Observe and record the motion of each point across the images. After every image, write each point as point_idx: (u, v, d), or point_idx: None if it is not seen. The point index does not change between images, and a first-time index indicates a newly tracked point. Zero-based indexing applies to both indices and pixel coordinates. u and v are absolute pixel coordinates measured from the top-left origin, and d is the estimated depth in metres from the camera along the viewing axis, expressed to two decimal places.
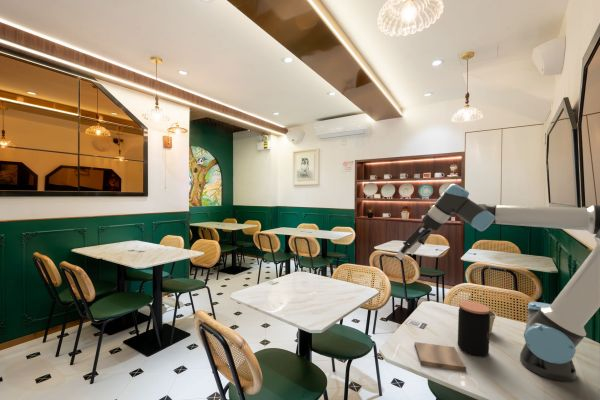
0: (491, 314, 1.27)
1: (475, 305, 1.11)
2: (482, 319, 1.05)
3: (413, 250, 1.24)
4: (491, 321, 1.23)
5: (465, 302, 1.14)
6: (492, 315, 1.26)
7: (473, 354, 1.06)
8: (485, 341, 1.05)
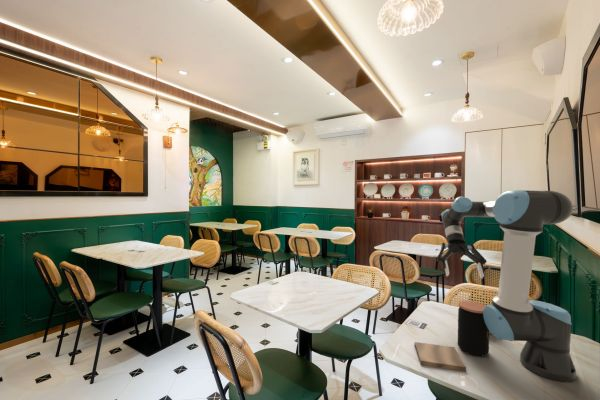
0: None
1: (475, 304, 1.11)
2: (482, 318, 1.05)
3: (480, 272, 1.20)
4: None
5: (464, 301, 1.14)
6: None
7: (473, 354, 1.06)
8: (485, 340, 1.05)
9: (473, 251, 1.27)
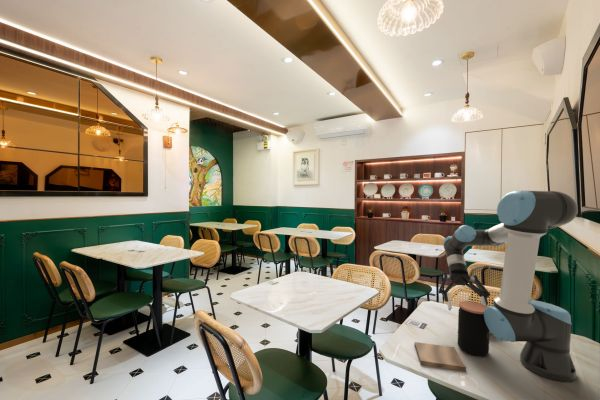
0: None
1: (475, 305, 1.11)
2: (482, 318, 1.05)
3: None
4: None
5: (465, 302, 1.14)
6: None
7: (473, 354, 1.06)
8: (485, 341, 1.05)
9: (476, 283, 1.22)
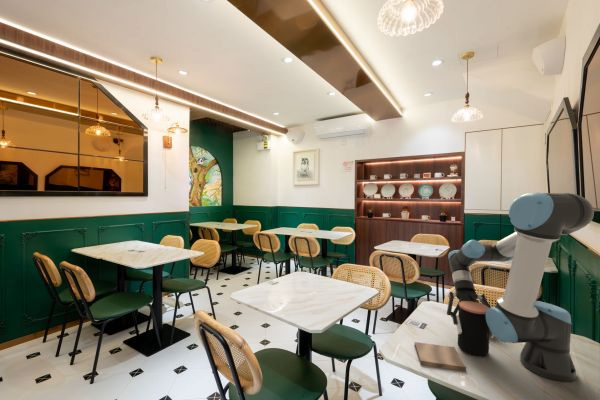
0: None
1: (475, 305, 1.11)
2: (482, 318, 1.05)
3: (490, 330, 1.07)
4: None
5: (465, 302, 1.14)
6: None
7: (473, 354, 1.06)
8: (485, 341, 1.05)
9: (483, 302, 1.15)
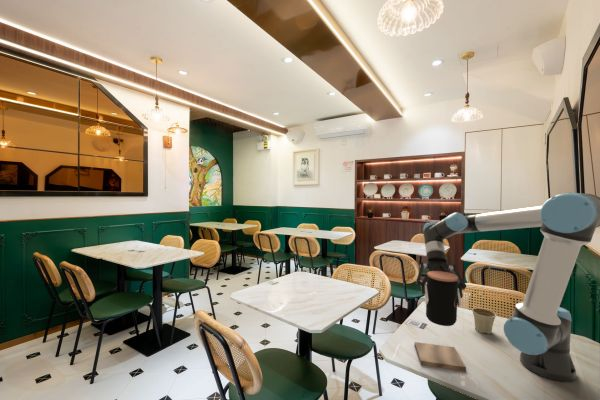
0: (491, 314, 1.27)
1: (444, 274, 1.07)
2: (449, 286, 1.01)
3: (457, 299, 1.03)
4: (491, 321, 1.23)
5: (434, 271, 1.10)
6: (492, 315, 1.26)
7: (439, 323, 1.03)
8: (452, 309, 1.02)
9: (454, 273, 1.11)
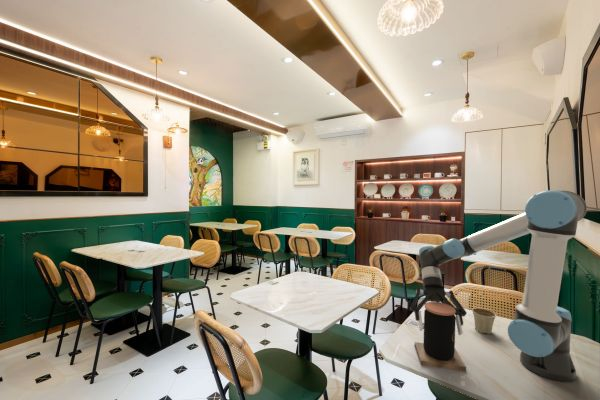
0: (491, 314, 1.27)
1: (441, 306, 1.06)
2: (447, 320, 1.00)
3: (458, 327, 1.02)
4: (491, 321, 1.23)
5: (431, 302, 1.09)
6: (492, 315, 1.26)
7: (437, 358, 1.01)
8: (450, 344, 1.00)
9: (452, 299, 1.10)
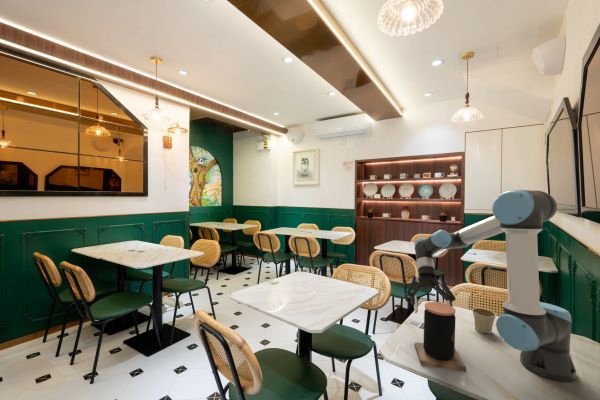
0: (491, 314, 1.27)
1: (441, 306, 1.06)
2: (446, 320, 1.00)
3: None
4: (491, 321, 1.23)
5: (431, 302, 1.09)
6: (492, 315, 1.26)
7: (437, 358, 1.01)
8: (450, 344, 1.00)
9: (443, 286, 1.23)
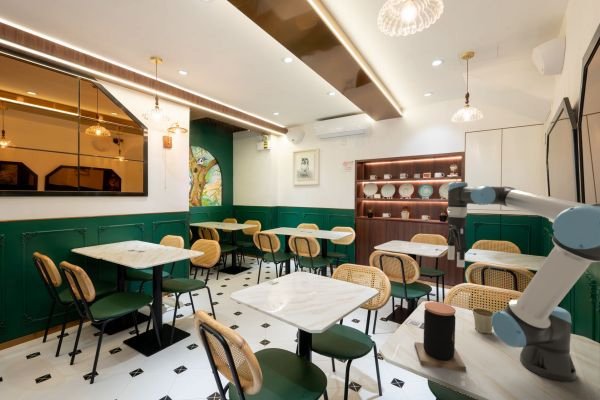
0: (491, 314, 1.27)
1: (441, 306, 1.06)
2: (446, 320, 1.00)
3: (452, 255, 1.30)
4: None
5: (431, 302, 1.09)
6: None
7: (437, 358, 1.01)
8: (450, 344, 1.00)
9: None
